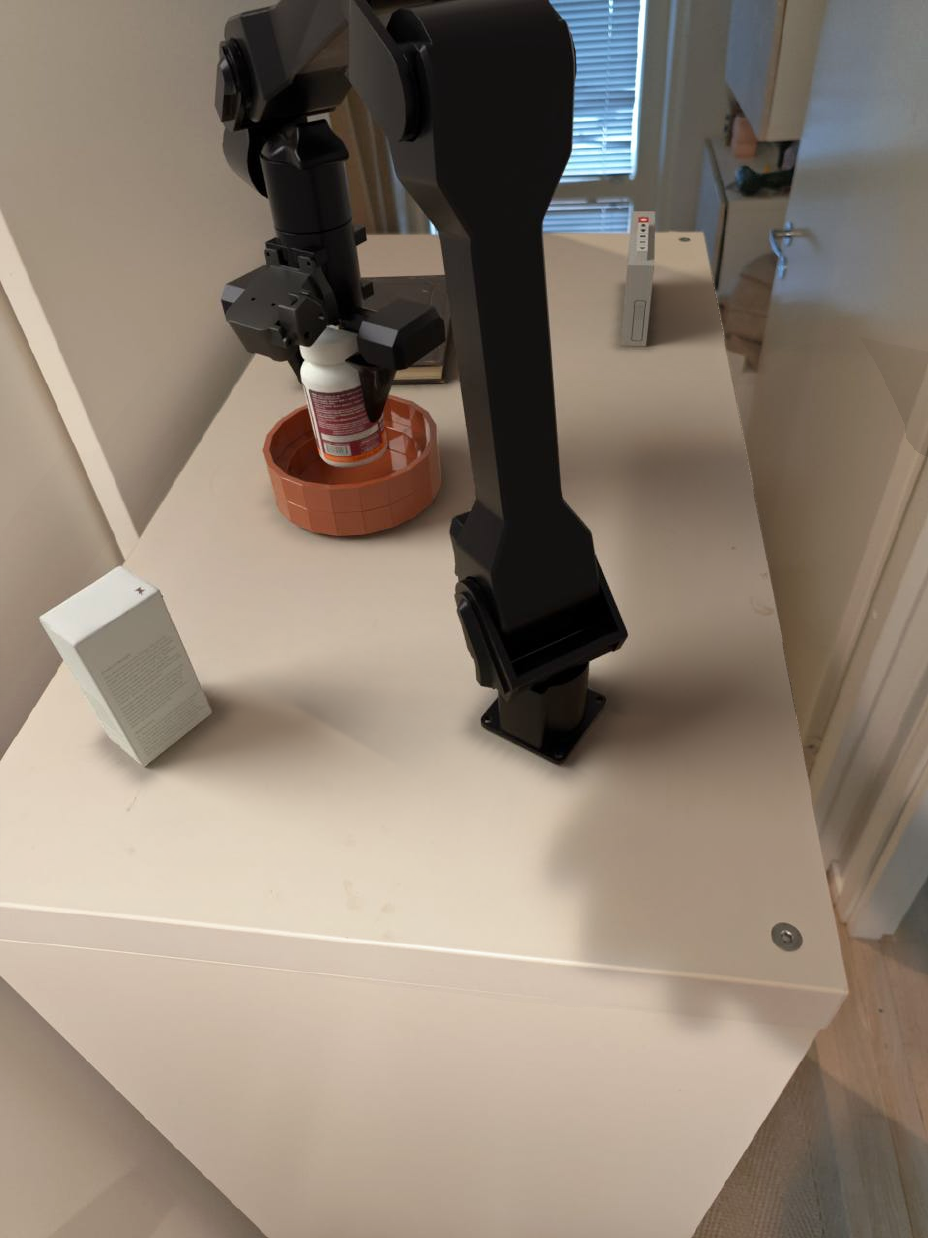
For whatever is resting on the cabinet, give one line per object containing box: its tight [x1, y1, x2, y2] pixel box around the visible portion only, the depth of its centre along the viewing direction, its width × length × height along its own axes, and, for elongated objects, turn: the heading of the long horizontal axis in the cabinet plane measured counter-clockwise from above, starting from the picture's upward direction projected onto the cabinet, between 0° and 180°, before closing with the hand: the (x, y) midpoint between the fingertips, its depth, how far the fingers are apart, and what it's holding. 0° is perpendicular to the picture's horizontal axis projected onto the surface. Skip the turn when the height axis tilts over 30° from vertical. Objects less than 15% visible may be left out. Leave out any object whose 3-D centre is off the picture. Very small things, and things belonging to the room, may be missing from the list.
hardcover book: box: [296, 274, 453, 386], centre depth 99 cm, size 16×23×2 cm
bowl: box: [262, 394, 442, 537], centre depth 76 cm, size 15×15×6 cm
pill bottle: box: [300, 327, 388, 468], centre depth 71 cm, size 6×6×11 cm
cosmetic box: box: [38, 565, 213, 768], centre depth 55 cm, size 6×4×12 cm
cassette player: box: [621, 210, 656, 347], centre depth 97 cm, size 16×3×10 cm, turn 171°
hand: (346, 410), depth 72 cm, fingers closed on pill bottle, 6 cm apart
